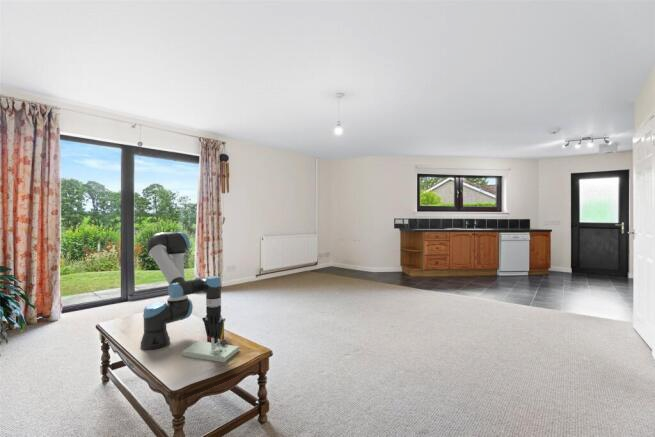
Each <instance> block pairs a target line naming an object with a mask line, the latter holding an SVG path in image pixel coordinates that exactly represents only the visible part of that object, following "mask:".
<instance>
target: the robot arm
mask: <svg viewBox="0 0 655 437" xmlns="http://www.w3.org/2000/svg"><path fill="white" fill-rule="evenodd" d="M189 248H190V239H189V236H188V235H187V234H186V233H185V232H184V231H167V232H157V233H155V234H153V235H152V236H150V237H149V239H148V240H147V243H146V252H147V254H148V256H149V257H150V258H152V259H153V260H154V261H155V263H156V265H157V267H158V269H159V270H160V271H161V274H162V275H163V277H164V278H165V280H166V282H167V283H168V287H167V294H168V296H169V297H168V298H167V302H165V301H158V302H153V303H150V304H148V305H146V306H144V309H143V314H142V315H143V316H142V317H143V334H142V337H141V340H140V348H141V349H142V350H151V351H152V350H158V349H160V348H164V347H166V346H168V345H169V344H170V342H171V339H170V338H171V337H170V336H169V332H168V330H167V324H172V323H175V322H179V321H182V320H185V319H188V318H190V316H191V315H192V313H193V309H194V306H193V303H192V300H191V299H190V298H189V296H190V295H194V294H199V293H205V298H206V299H205V300H206V302H205V303H206V304H205V305H206V308H205V310H206V311H205V312H206V314H205V316H204V317H202V322H203V324H204V328H205V333H206V337H207V336H210V343H211V350H215V349H216V348H217V343H218V337H219V336H220V335H221V334H222V329H223V324H224V325H225V321H226V318H223V317H222V314H221V313H222V279H221V277H220V275H209V276H207V277H203V276H198V277H196V278H194V279H189V280H185V263H184V259H185V258H184V256H185V255H186V253H187V250H189ZM219 320H220V321H219ZM219 322H220V323H219ZM218 324H219V327H218Z"/></svg>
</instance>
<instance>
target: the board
mask: <svg viewBox="0 0 655 437" xmlns="http://www.w3.org/2000/svg"><path fill="white" fill-rule="evenodd" d="M216 350H219V351H220V353H218V354H216V353H214V352H215V351H216ZM239 351H240V347H239V346H238V345H233V344H232V345H230V344H226V345H224V346H222V345H221V343H219V344H217V348H216V349H215V350H211V343H210V342H207V341H201V340H198V341H196V342H195V343H193V344H191V345H190V346H188V347H187V348H185V349H183V350H182V351H181V356H182V357H189V358H195V359H201V360H206V361H213V362H214V361H215V362H220V363H225V362H226V361H228V360H229V359H230V358H232V357H233V356H235V355H236V354H237V353H238V352H239Z"/></svg>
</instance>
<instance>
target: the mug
mask: <svg viewBox="0 0 655 437" xmlns="http://www.w3.org/2000/svg"><path fill="white" fill-rule="evenodd" d="M219 321H220V320H219ZM219 323H220V322H219ZM218 327H219V324H218ZM218 339H220V343H221V340H225V323H224V324H223V329H222V334H221V335H220V336H219V337H218ZM206 340H207V341H206V342H210V336H207V335H206Z"/></svg>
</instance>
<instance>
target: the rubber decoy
mask: <svg viewBox="0 0 655 437" xmlns="http://www.w3.org/2000/svg"><path fill="white" fill-rule="evenodd" d="M220 344H221V345H222V346H224V345H227V340H226V339H224V340H221V342H220Z"/></svg>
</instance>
